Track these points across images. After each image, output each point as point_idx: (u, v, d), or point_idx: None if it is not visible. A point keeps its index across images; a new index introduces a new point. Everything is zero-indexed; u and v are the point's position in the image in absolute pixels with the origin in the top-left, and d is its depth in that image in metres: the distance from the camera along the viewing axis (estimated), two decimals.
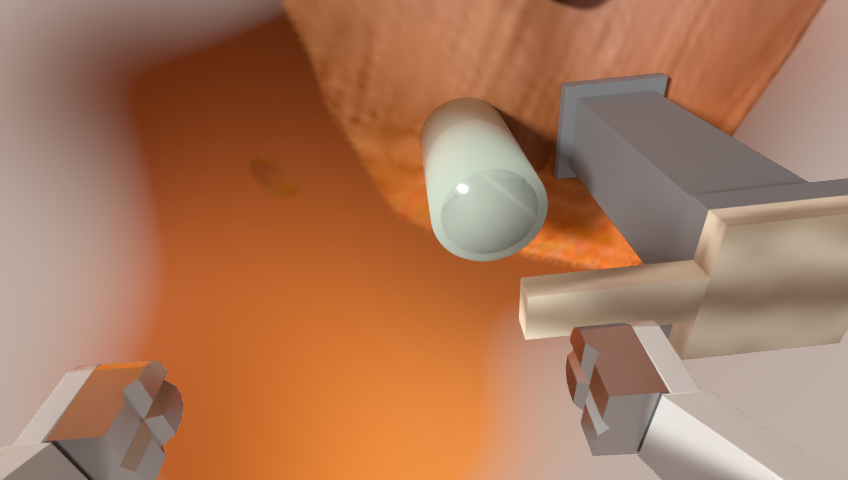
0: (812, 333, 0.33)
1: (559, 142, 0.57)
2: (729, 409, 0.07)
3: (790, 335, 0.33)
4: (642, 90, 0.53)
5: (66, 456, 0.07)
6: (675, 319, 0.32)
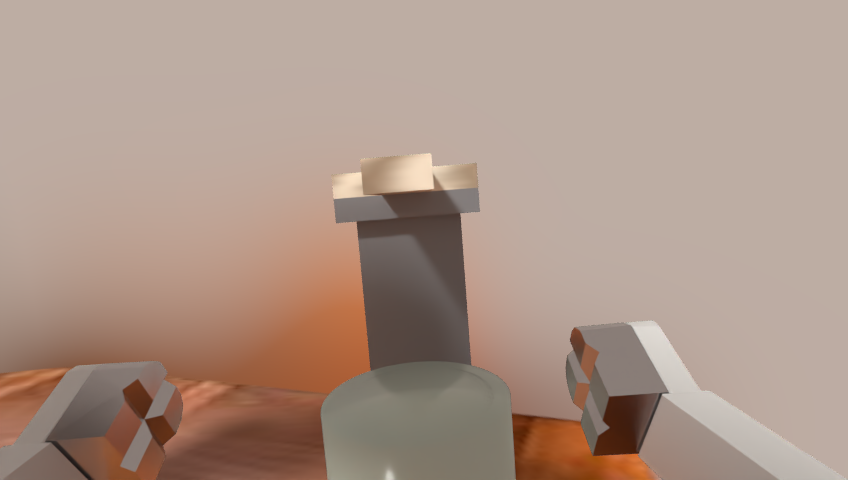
0: None
1: None
2: (729, 409, 0.07)
3: None
4: None
5: (66, 456, 0.07)
6: None
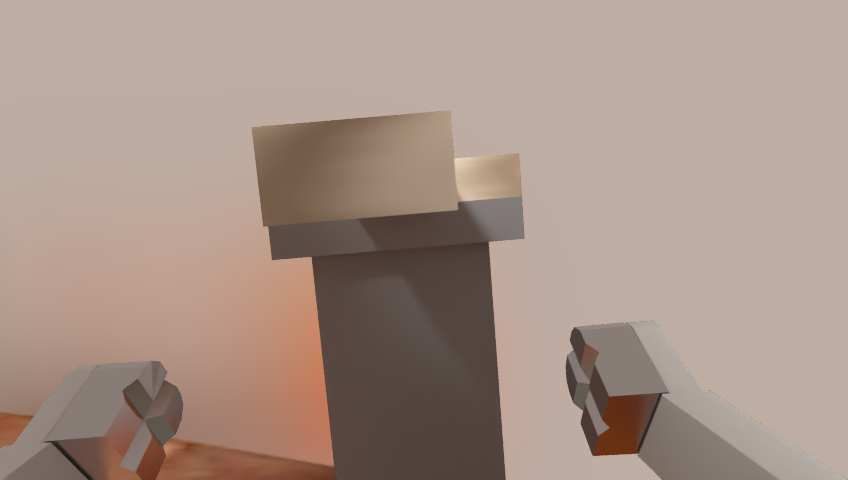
0: None
1: None
2: (729, 409, 0.07)
3: None
4: None
5: (66, 456, 0.07)
6: None
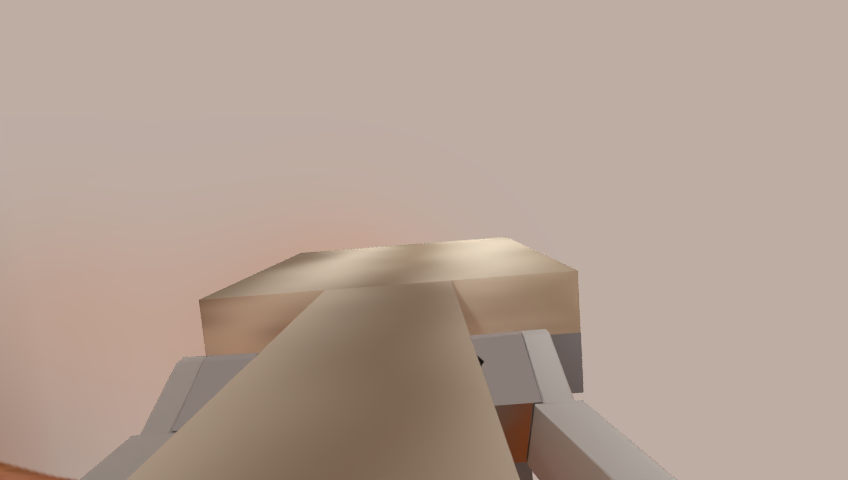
0: (489, 243, 0.24)
1: None
2: (595, 419, 0.07)
3: (493, 246, 0.22)
4: None
5: None
6: (440, 291, 0.13)
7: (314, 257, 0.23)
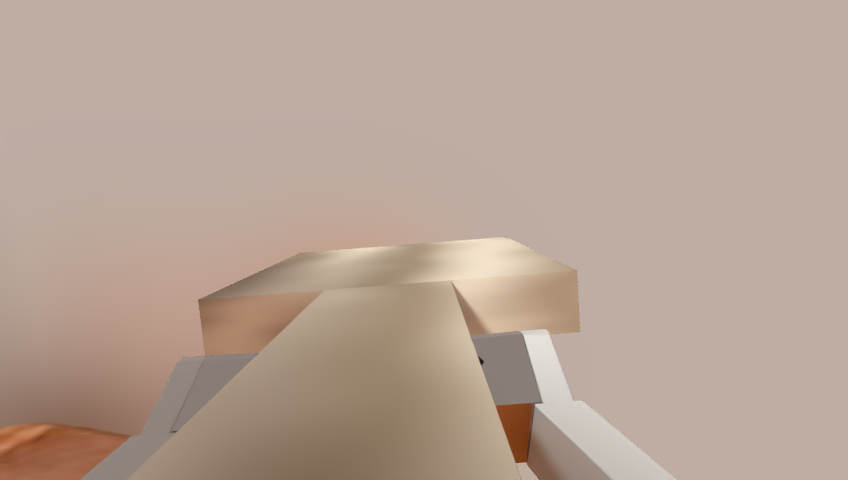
0: (488, 243, 0.24)
1: None
2: (595, 420, 0.07)
3: (493, 246, 0.22)
4: None
5: None
6: (440, 290, 0.13)
7: (313, 257, 0.23)
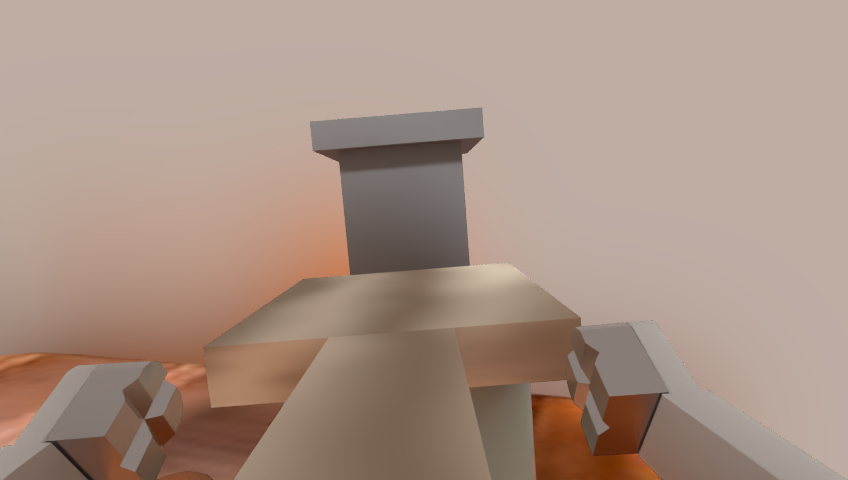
0: (491, 271, 0.24)
1: None
2: (729, 409, 0.07)
3: (496, 277, 0.22)
4: None
5: (66, 456, 0.07)
6: (444, 343, 0.13)
7: (317, 286, 0.23)
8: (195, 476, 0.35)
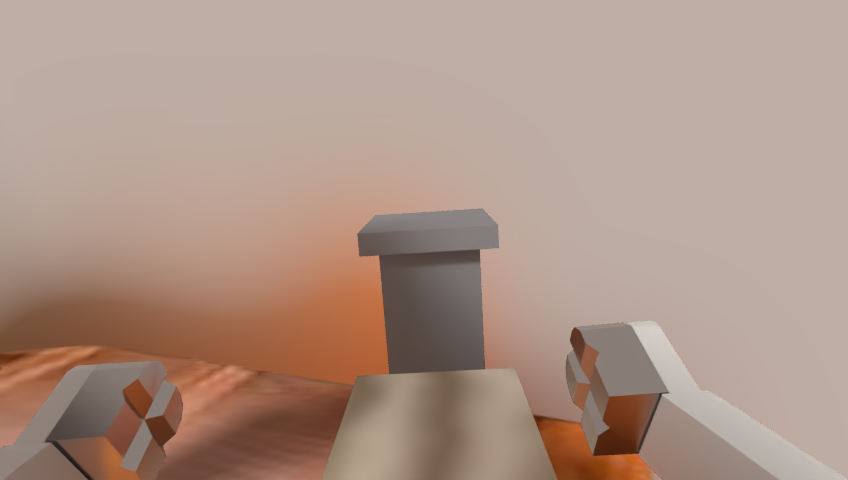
0: (501, 385, 0.32)
1: None
2: (729, 409, 0.07)
3: (504, 398, 0.30)
4: None
5: (66, 456, 0.07)
6: None
7: (371, 394, 0.32)
8: None
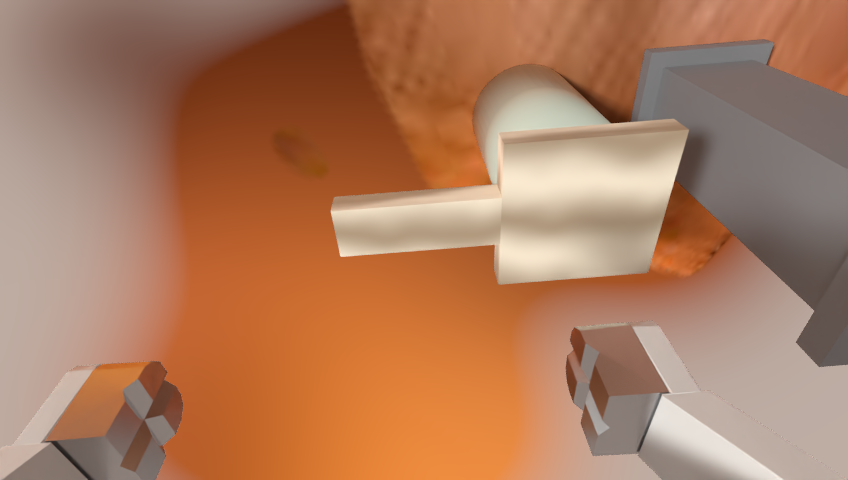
0: (619, 261, 0.35)
1: (635, 121, 0.49)
2: (729, 409, 0.07)
3: (597, 262, 0.35)
4: (741, 59, 0.45)
5: (66, 456, 0.07)
6: (480, 241, 0.34)
7: (640, 154, 0.30)
8: None
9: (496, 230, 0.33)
